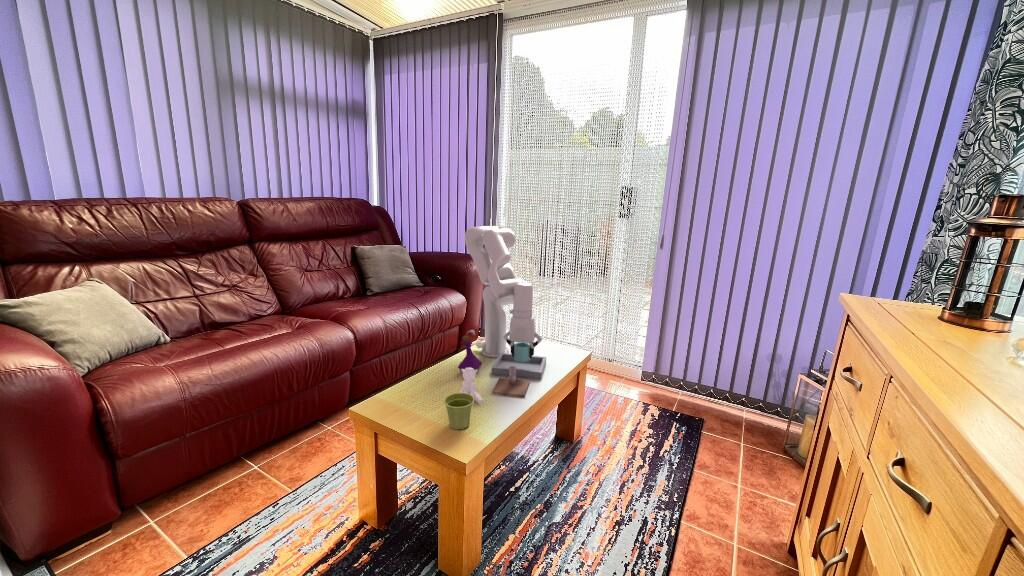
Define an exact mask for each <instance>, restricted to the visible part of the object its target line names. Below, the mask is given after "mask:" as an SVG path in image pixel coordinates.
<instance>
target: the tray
mask: <svg viewBox="0 0 1024 576" xmlns="http://www.w3.org/2000/svg"><path fill="white" fill-rule="evenodd" d="M546 365H547V356H539V355H538V356H537V355H532V358H531V359H530V360H529V361H526V362H518V361H516V360H514V356H512V354H511V353H509V354H507V353H500V355H499V357H497V359H496V360H495V362H494V364H492V367H491V375H493V376H500V377H501V376H503V377H509V367H511V366H514V367H516V378H520V379H521V378H522V379H532V380H541V381H542V378H543V375H544V372H545V368H546Z"/></svg>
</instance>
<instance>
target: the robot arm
mask: <svg viewBox="0 0 1024 576" xmlns="http://www.w3.org/2000/svg"><path fill="white" fill-rule="evenodd" d="M464 242H465V247H466V249H467V251H468V253H469V255H470V257H471V259H472V260H473V262H474V265H475V268H476V270H477V275H478V277H479V279H480V282H481V283H482V284H483V285H486V286H485V288H484V289H483V290H482V299H483V306H484V341H482V342H481V341H476V343H475V345H476V346H475V347H476V348H477V349H478V348H479V349H481V354H482V355H483V356H484V357H487V358H495V359H496V358H498V357H499V355H500V353H507V354H512V356H514V344H515V343H517V342H523V343H529V344H530V346H531V347H530V358H532V356H535V348H536V347H537V345H539V344H540V343H541V342H542V341H543V338H542V336H541V335H539V334H538V333H537V332H536V324H535V323H536V322H535V316H533V295H534V294H533V289H534V287H533V284H532V283H530V282H527V281H525V280H524V279H523V278H517V276H516V272H515V270H514V269H513V267H512V265H511V264H510V261H511V259H512V258H511V257H512V256H511V254H510V252H509V249H508V248H512V247H514V245H515V243H516V236H515V233H514V232H513V231H512V229H510V228H508V227H504V226H500V225H483V226H482V225H480V226H477V225H476V226H472V227H469V228H468V229H466V230H465V233H464ZM509 305H512V306H513V308H512V309H509V314H512V315H511V316H510V322H509V331H507V314H506V312H505V310H504V309H503V308H502V307H503V306H509ZM536 339H537V340H536ZM534 341H535V342H534ZM507 344H508V345H509V347H510V349H509V348H508V347H507Z"/></svg>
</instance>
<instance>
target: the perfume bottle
mask: <svg viewBox="0 0 1024 576" xmlns="http://www.w3.org/2000/svg"><path fill="white" fill-rule="evenodd" d="M469 333H471V334H472V335H473V336H474V337H475V336H476V332H475V330H474V329H471V330H468V331H467V332H466V334H465V335H463V336H462V340H461V344H462V345H463V346H464V347H465V350H466V355H465V357H464V358H463V359H462V361H461V362H460V363H459V364H458V365H457V368H458V369H459V370H460V372H462V370H461V369H465V368H469V367H471V368H473V369H474V370H477V369H478V370H477V372H478V371H479V369H480V368H481V366H482V365H483V362H482V361H481V360H480V359H479V358H478V357H477V356H476V355H475V354H474V352H473V350H472V348H471V344H472V343H473V342H472V340H471V337H470V336H469V335H468V334H469ZM462 374H463V372H462Z"/></svg>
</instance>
